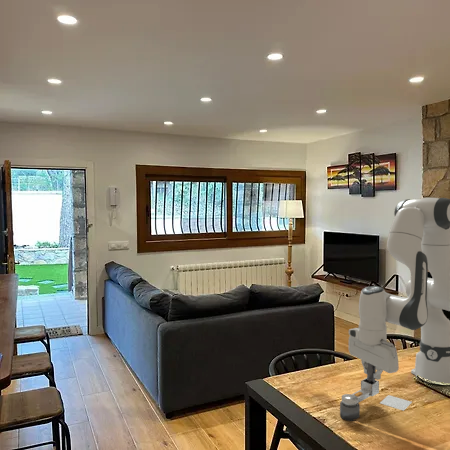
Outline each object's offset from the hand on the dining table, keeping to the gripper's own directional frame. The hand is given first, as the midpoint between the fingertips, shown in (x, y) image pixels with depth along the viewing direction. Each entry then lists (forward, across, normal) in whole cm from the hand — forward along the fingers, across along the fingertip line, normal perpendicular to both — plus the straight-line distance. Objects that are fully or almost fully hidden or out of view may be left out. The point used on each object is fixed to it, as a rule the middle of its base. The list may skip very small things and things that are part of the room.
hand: (372, 376), depth 139 cm
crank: (+6, -1, +6) cm, 9 cm away
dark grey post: (+4, +1, 0) cm, 5 cm away
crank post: (+10, -3, +11) cm, 16 cm away
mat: (+10, -2, -8) cm, 13 cm away
